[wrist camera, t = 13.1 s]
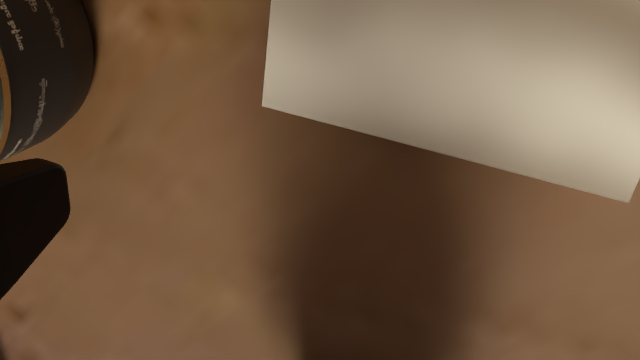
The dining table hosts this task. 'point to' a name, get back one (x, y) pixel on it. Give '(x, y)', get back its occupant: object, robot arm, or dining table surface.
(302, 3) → the birch board
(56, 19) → the jar
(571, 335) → the dining table surface
